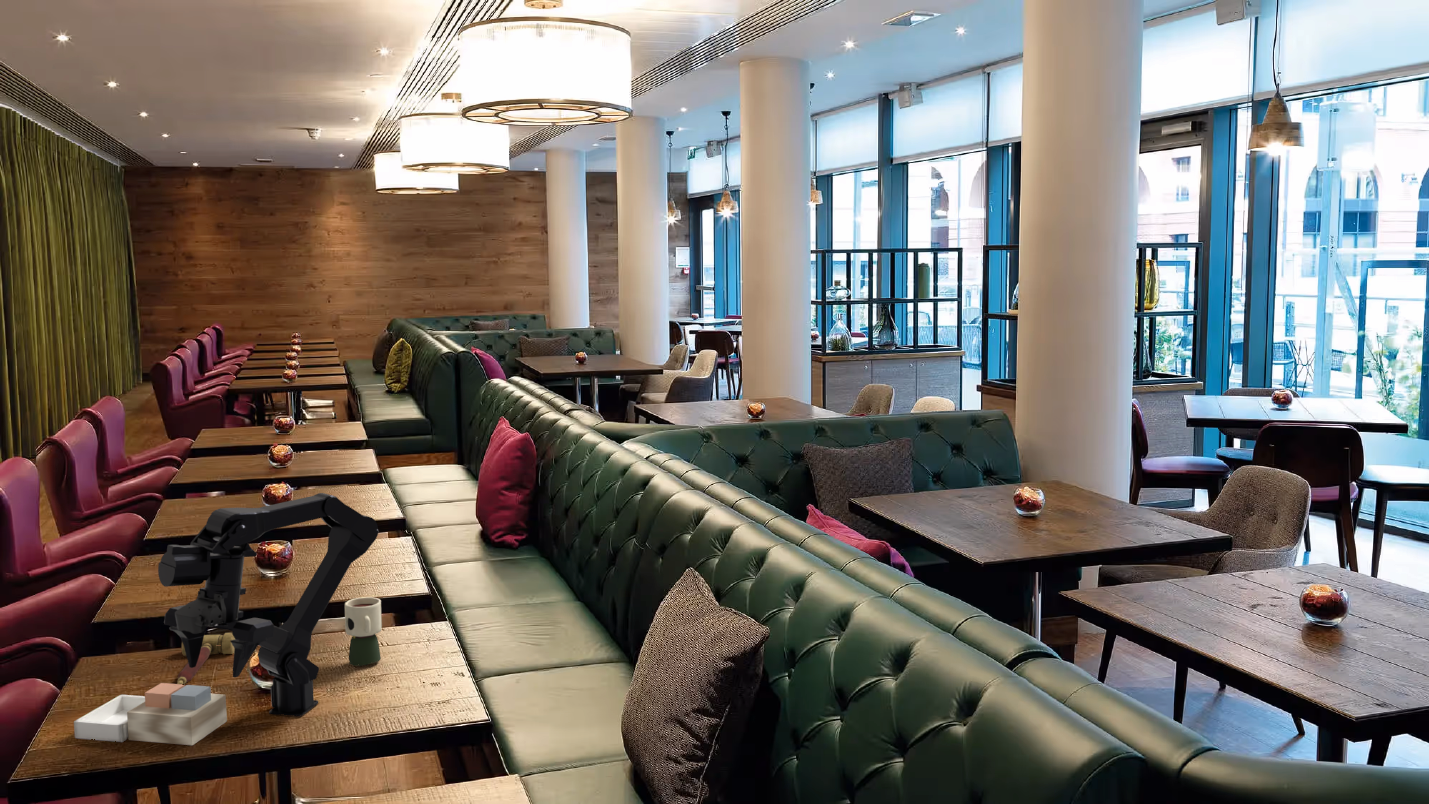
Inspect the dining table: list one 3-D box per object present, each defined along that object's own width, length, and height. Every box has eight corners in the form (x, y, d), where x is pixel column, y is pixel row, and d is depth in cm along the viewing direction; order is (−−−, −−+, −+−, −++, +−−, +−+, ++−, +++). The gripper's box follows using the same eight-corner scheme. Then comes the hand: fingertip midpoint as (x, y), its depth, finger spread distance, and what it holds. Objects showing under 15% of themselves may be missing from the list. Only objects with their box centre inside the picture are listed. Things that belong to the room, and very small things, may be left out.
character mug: (342, 657, 230) (340, 596, 229) (377, 652, 234) (376, 592, 232) (350, 675, 221) (348, 612, 219) (387, 669, 224) (385, 607, 222)
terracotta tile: (185, 698, 196) (184, 684, 196) (169, 708, 192) (168, 694, 191) (162, 696, 197) (161, 682, 196) (145, 706, 192) (144, 692, 192)
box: (166, 713, 201) (166, 698, 201) (122, 742, 190) (121, 725, 189) (122, 710, 203) (121, 694, 202) (75, 738, 191) (73, 721, 191)
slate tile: (211, 700, 195) (210, 686, 195) (195, 710, 191) (194, 696, 190) (187, 698, 196) (187, 684, 196) (171, 708, 191) (170, 694, 191)
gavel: (205, 672, 214) (150, 674, 212) (207, 694, 215) (152, 696, 213) (237, 629, 234) (187, 630, 233) (238, 649, 235) (189, 651, 234)
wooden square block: (226, 721, 198) (225, 694, 198) (192, 745, 189) (190, 717, 188) (165, 716, 200) (164, 689, 200) (128, 739, 190) (127, 712, 190)
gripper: (143, 580, 186) (134, 672, 186) (234, 597, 181) (224, 692, 181) (193, 572, 197) (184, 659, 197) (280, 588, 191) (270, 678, 191)
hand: (214, 672), depth 191 cm, fingers open, 9 cm apart
